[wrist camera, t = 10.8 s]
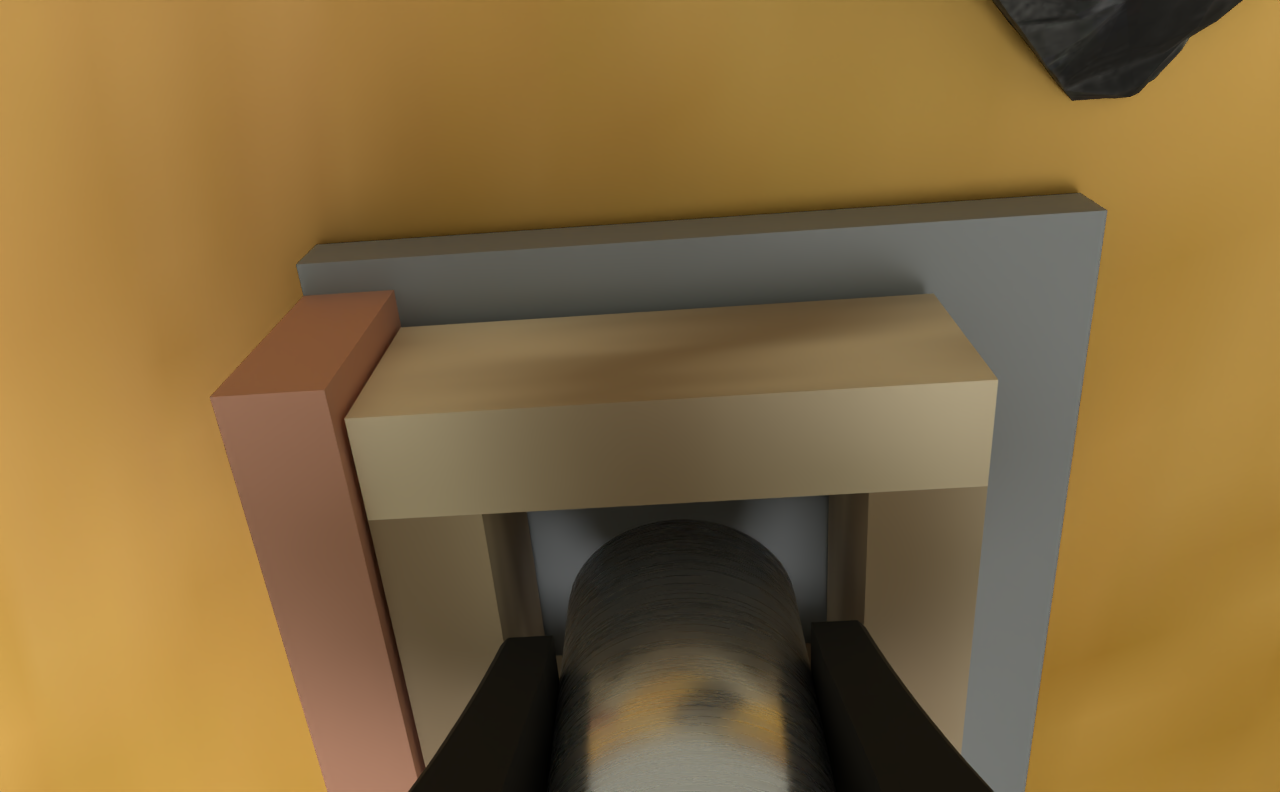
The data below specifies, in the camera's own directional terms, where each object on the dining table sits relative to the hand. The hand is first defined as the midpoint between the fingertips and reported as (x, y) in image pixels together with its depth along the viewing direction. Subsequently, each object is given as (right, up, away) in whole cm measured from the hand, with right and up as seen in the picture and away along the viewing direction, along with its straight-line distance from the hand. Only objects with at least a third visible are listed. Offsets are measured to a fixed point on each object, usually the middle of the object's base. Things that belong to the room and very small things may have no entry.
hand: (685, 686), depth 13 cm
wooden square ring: (0, +2, +3) cm, 4 cm away
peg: (0, +1, +1) cm, 2 cm away
